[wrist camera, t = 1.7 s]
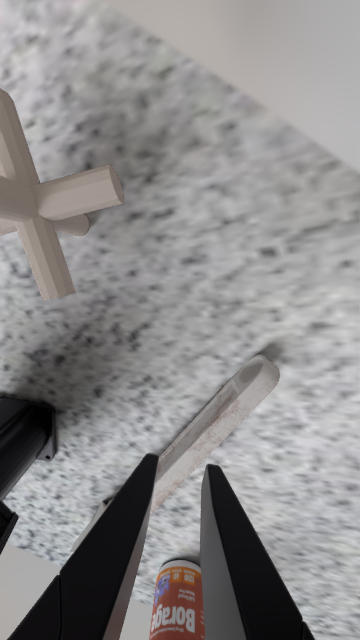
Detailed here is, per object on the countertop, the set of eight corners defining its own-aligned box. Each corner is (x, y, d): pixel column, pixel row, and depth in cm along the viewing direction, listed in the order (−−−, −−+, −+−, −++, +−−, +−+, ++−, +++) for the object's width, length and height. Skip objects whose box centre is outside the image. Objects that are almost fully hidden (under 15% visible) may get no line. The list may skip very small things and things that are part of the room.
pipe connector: (42, 298, 19) (-123, 338, 9) (-6, 168, 16) (-301, 29, 7) (155, 274, 17) (107, 289, 8) (121, 130, 15) (-7, -106, 5)
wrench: (259, 352, 22) (82, 542, 25) (246, 341, 22) (69, 534, 25) (307, 392, 14) (39, 660, 17) (286, 375, 14) (20, 650, 17)
